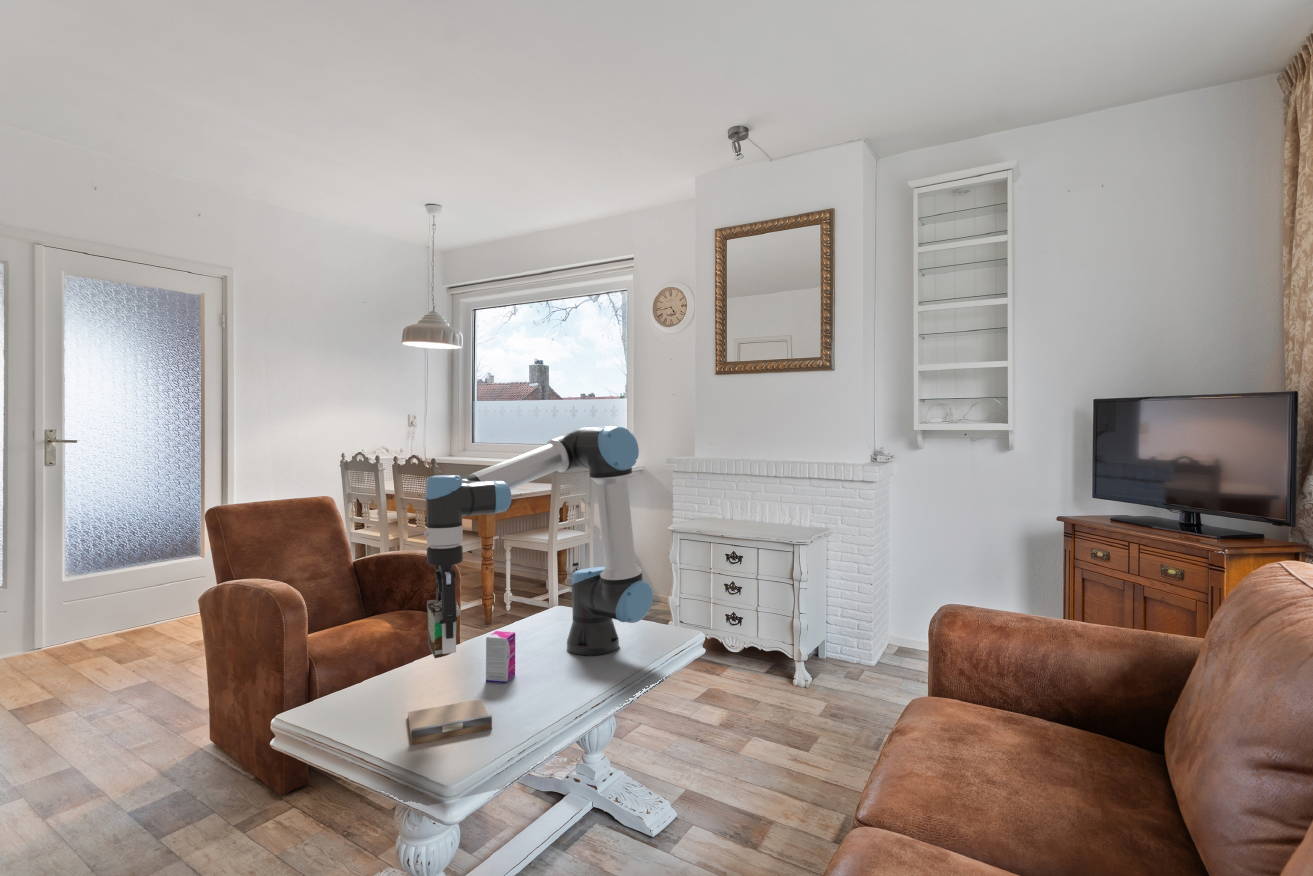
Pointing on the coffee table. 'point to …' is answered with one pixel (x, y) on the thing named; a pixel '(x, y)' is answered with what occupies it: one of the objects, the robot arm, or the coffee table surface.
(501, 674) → the supplement box
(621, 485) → the robot arm
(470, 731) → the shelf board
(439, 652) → the food container
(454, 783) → the coffee table surface
